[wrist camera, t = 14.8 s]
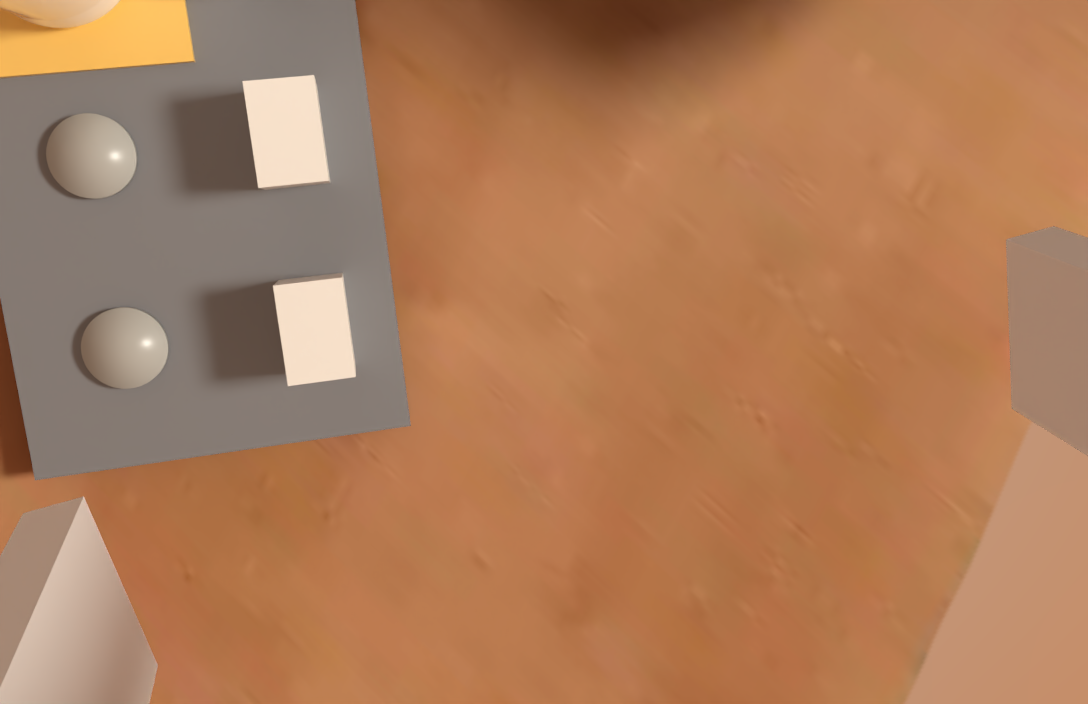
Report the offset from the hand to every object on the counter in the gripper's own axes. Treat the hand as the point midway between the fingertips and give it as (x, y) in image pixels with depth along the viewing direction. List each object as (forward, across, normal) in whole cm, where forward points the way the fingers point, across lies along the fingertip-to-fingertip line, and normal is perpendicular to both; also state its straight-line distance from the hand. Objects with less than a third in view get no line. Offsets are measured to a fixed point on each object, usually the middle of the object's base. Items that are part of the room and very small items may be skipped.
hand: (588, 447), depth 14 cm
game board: (+29, -8, +2) cm, 30 cm away
